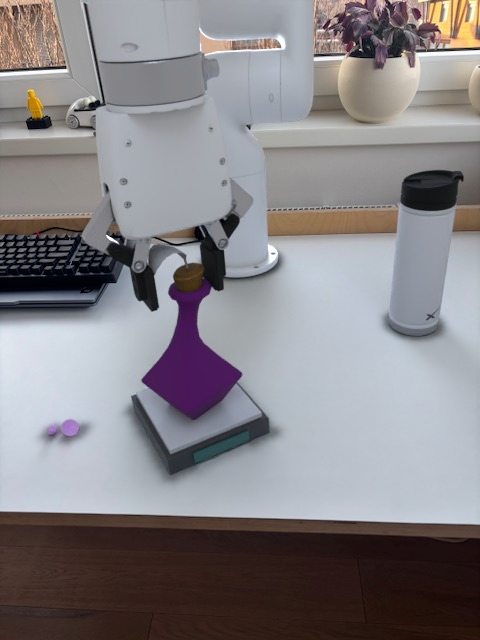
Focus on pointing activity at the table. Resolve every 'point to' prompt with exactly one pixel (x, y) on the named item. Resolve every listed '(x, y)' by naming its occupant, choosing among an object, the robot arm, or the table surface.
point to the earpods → (65, 428)
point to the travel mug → (422, 250)
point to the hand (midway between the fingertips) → (182, 293)
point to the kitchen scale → (199, 427)
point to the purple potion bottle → (188, 346)
